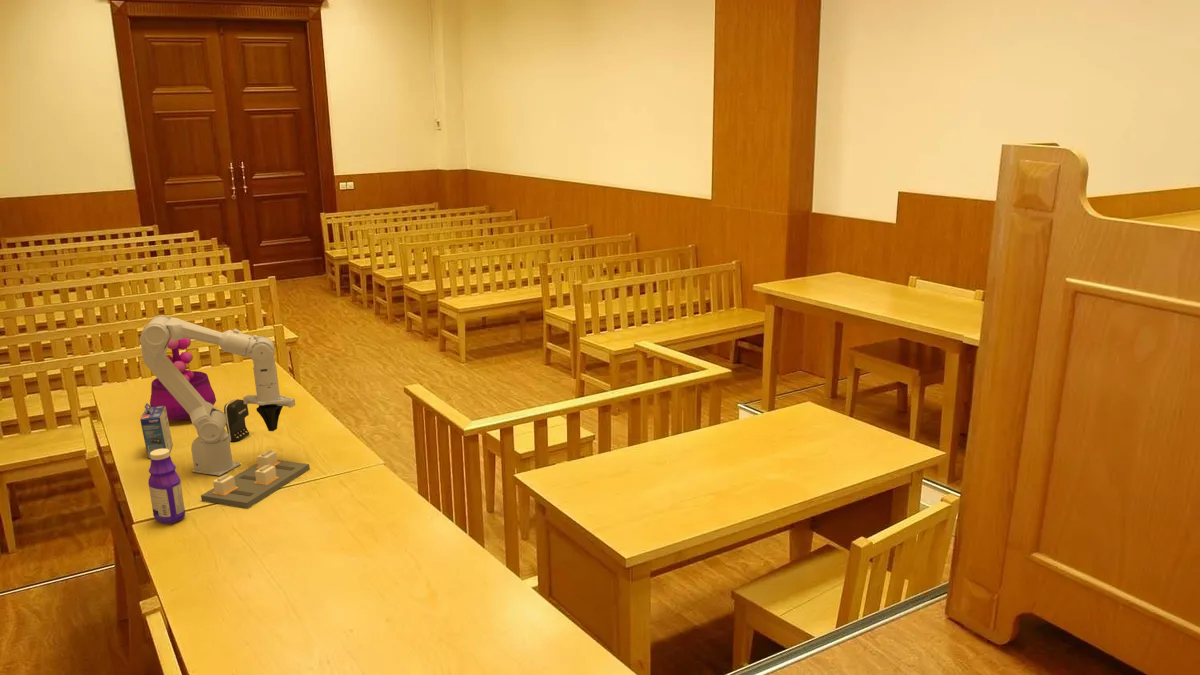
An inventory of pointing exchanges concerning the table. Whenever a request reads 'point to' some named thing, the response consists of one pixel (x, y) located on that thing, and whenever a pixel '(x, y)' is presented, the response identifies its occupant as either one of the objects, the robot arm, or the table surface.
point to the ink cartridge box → (156, 429)
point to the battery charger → (236, 419)
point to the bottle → (165, 488)
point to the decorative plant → (195, 378)
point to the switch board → (256, 485)
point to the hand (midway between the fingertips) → (272, 429)
